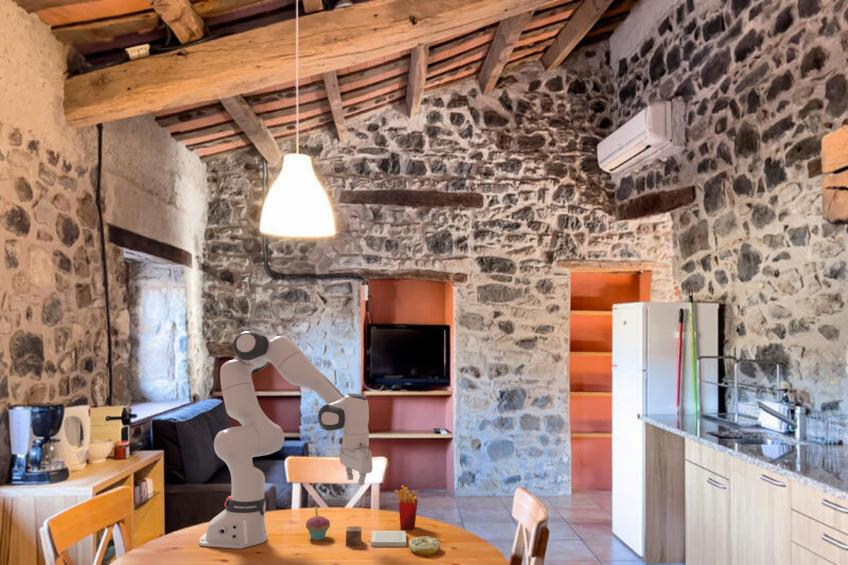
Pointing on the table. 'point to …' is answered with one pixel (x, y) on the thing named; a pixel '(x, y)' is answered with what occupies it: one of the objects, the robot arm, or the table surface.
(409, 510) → the french fries
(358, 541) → the walnut cube
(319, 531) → the cupcake
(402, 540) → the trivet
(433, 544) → the decorated donut
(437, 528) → the table surface
